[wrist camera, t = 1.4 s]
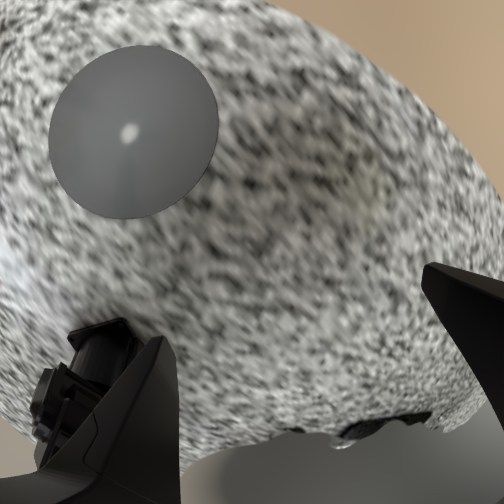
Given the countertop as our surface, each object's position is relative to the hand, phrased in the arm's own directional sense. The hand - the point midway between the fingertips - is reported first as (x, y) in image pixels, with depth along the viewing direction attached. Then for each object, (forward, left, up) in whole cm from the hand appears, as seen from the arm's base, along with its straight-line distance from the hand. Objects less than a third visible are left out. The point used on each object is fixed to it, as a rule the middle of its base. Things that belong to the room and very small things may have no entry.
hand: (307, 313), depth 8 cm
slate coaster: (-6, +8, -12) cm, 16 cm away
